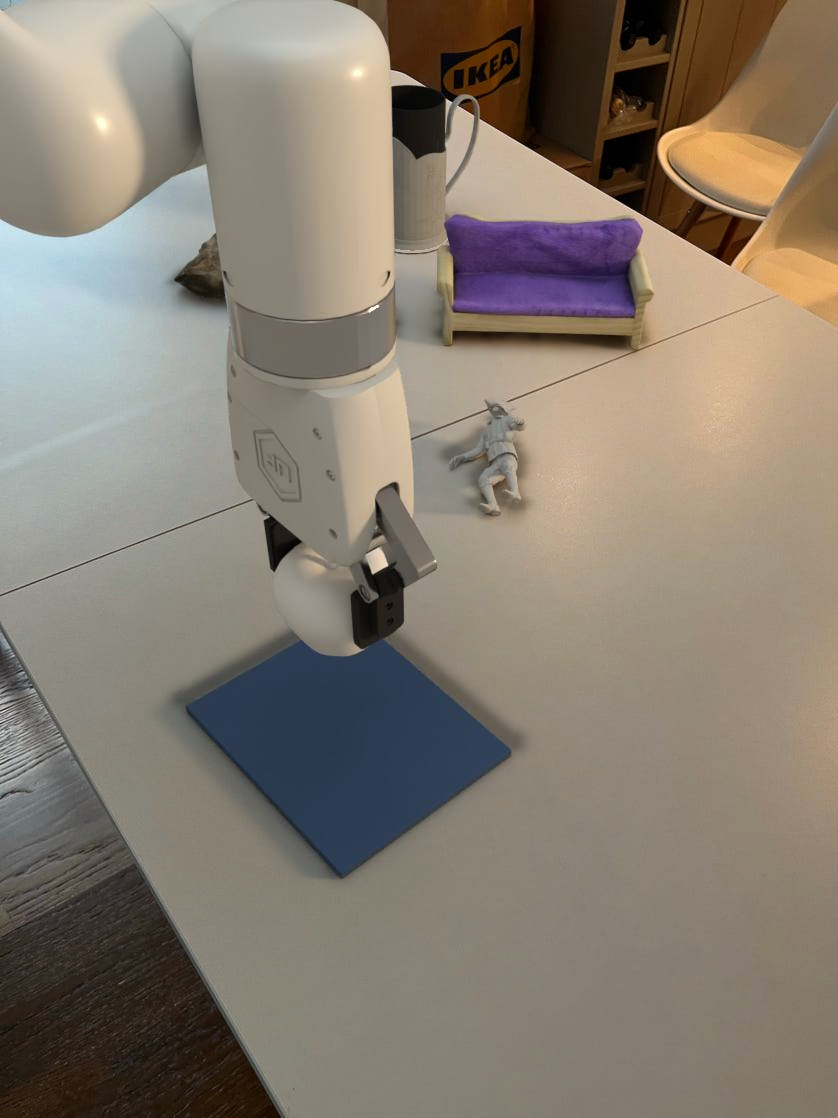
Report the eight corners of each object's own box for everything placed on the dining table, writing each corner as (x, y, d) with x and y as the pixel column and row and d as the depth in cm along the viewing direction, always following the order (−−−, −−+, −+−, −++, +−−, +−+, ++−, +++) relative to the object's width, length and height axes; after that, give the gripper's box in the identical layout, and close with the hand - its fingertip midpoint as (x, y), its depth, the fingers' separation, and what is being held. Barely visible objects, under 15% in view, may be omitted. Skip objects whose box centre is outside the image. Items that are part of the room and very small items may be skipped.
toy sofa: (435, 347, 103) (436, 248, 96) (436, 303, 109) (437, 207, 102) (644, 353, 104) (661, 255, 96) (634, 310, 110) (649, 215, 102)
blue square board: (341, 879, 61) (341, 873, 61) (186, 711, 70) (185, 706, 69) (511, 755, 68) (511, 749, 68) (351, 616, 77) (351, 610, 76)
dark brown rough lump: (169, 291, 103) (271, 306, 106) (173, 221, 102) (277, 237, 104) (177, 295, 111) (272, 309, 113) (180, 230, 109) (277, 245, 111)
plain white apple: (289, 591, 65) (277, 489, 59) (403, 597, 65) (401, 496, 59) (269, 674, 60) (253, 571, 54) (392, 681, 60) (389, 579, 54)
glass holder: (357, 232, 119) (351, 93, 109) (450, 201, 126) (453, 67, 116) (405, 261, 115) (404, 119, 104) (498, 227, 122) (506, 90, 111)
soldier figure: (450, 524, 86) (436, 407, 91) (488, 543, 89) (472, 429, 94) (522, 482, 81) (503, 362, 86) (559, 504, 85) (539, 387, 90)
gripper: (140, 269, 50) (197, 549, 62) (368, 434, 41) (380, 719, 54) (270, 226, 53) (299, 499, 66) (504, 369, 45) (485, 650, 58)
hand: (336, 596), depth 60 cm, fingers closed on plain white apple, 7 cm apart
